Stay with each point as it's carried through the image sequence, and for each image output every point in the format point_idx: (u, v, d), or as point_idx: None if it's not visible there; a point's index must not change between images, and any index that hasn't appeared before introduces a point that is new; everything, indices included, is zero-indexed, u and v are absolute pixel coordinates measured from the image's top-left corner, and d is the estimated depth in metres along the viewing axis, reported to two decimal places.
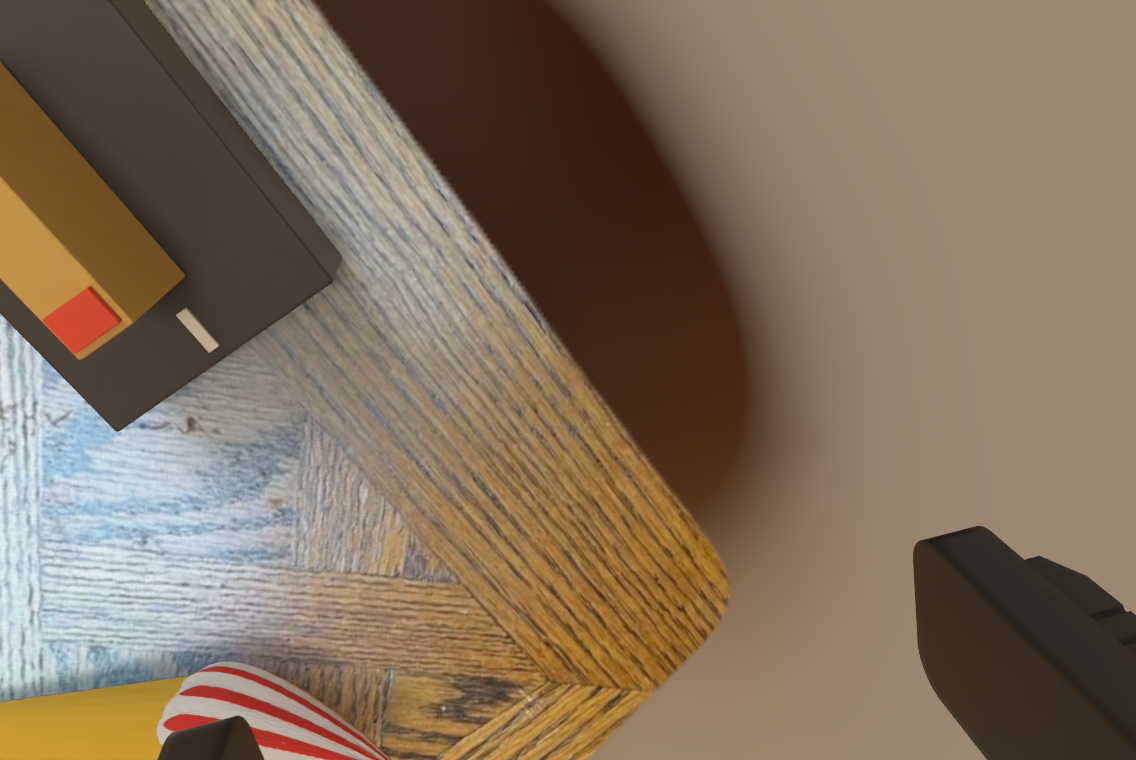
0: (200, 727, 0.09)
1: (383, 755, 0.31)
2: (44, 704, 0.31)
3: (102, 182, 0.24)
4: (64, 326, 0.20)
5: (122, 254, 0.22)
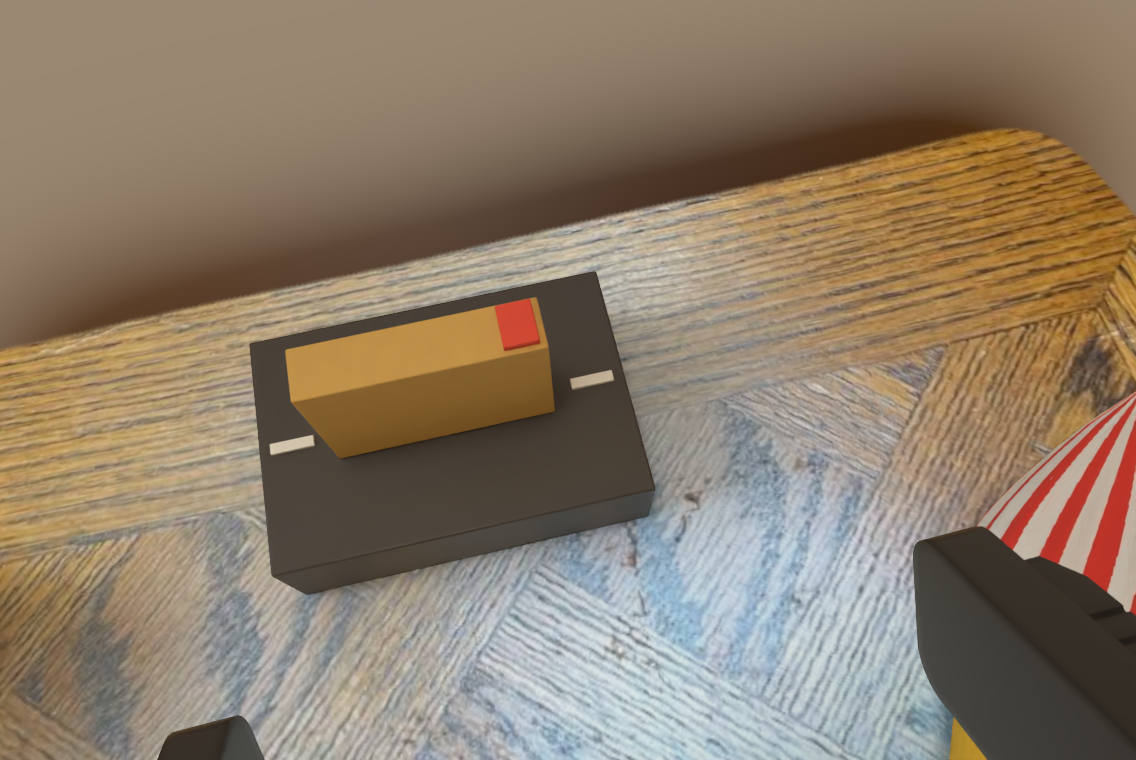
0: (200, 727, 0.09)
1: (1108, 410, 0.27)
2: None
3: None
4: (515, 334, 0.24)
5: None
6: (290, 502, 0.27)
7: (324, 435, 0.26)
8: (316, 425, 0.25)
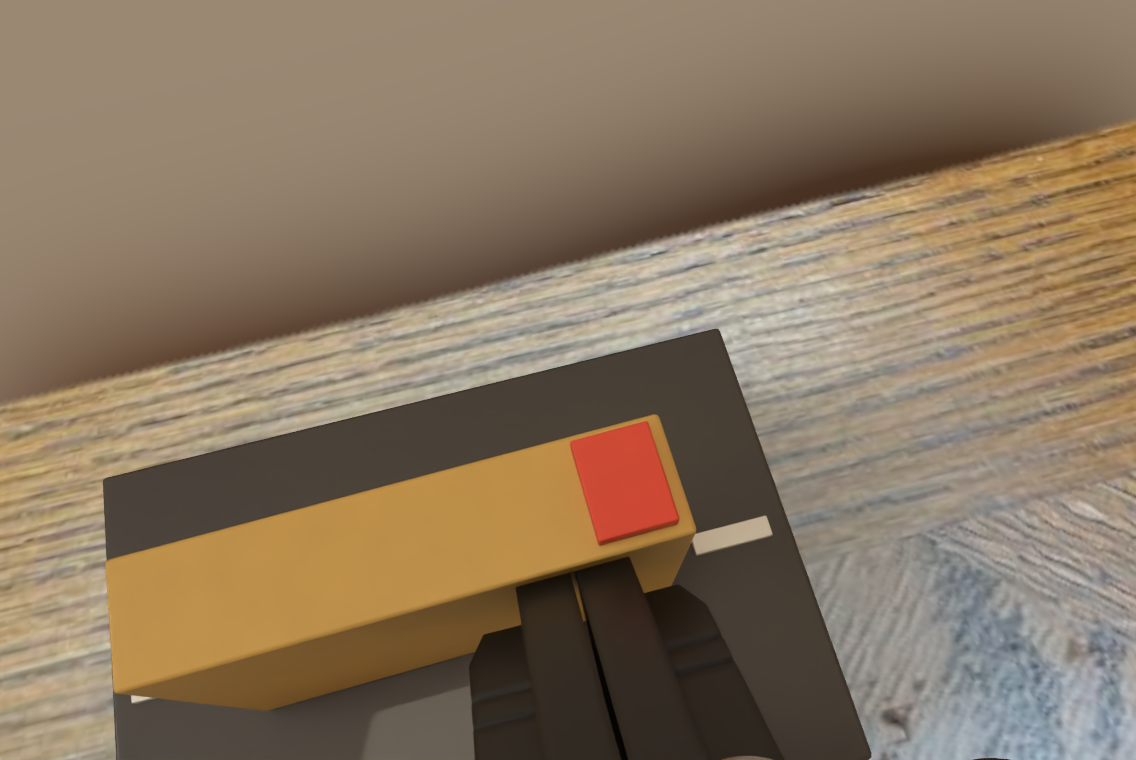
0: None
1: None
2: None
3: None
4: (623, 509, 0.10)
5: None
6: None
7: (219, 703, 0.13)
8: (194, 700, 0.12)
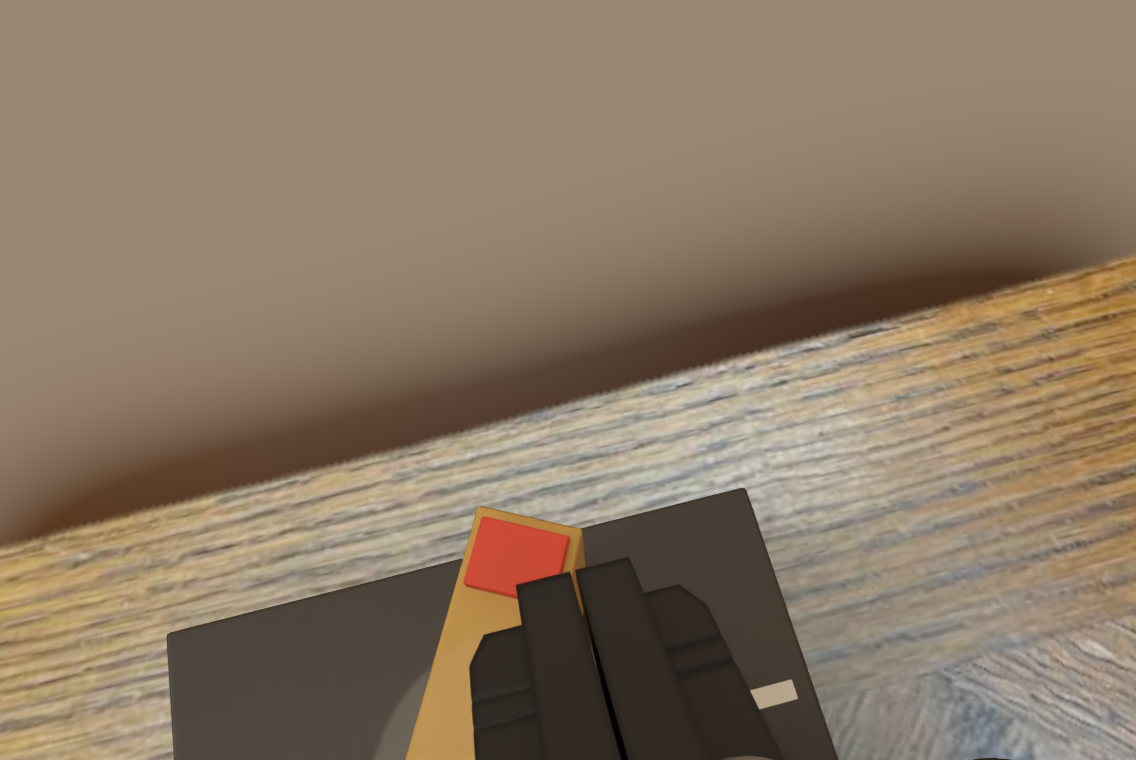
0: (543, 579, 0.11)
1: None
2: None
3: None
4: (539, 572, 0.12)
5: None
6: None
7: None
8: None
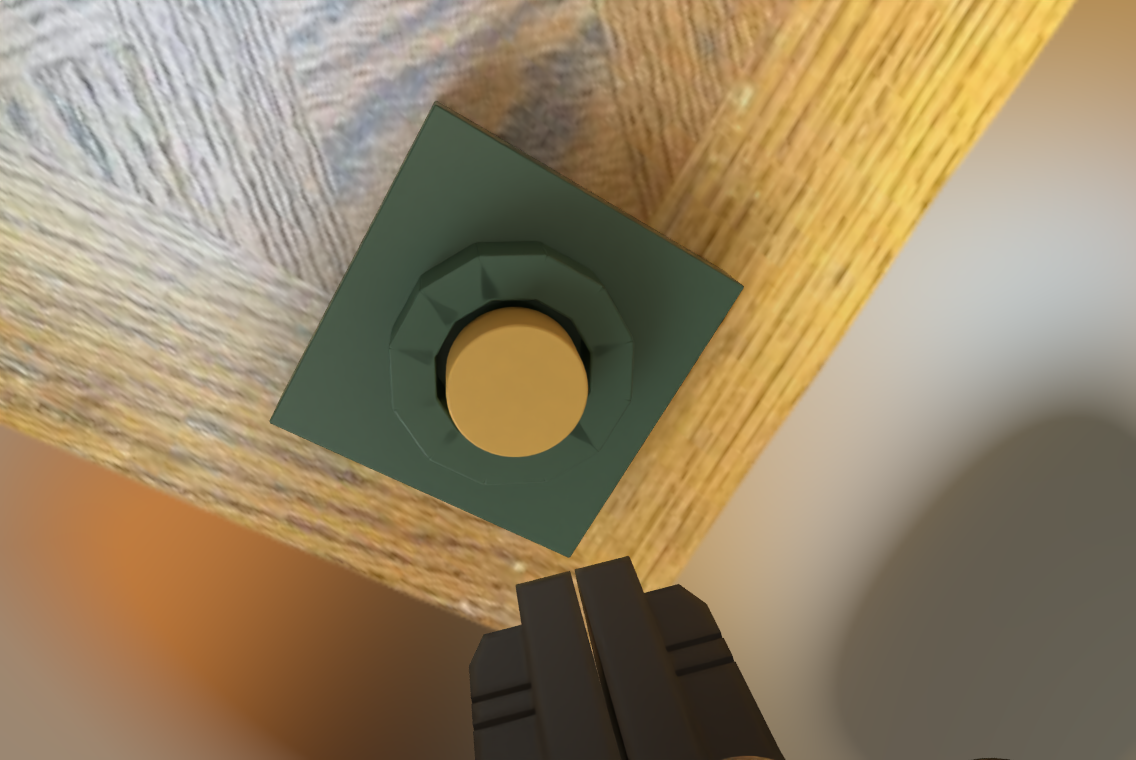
0: (543, 579, 0.11)
1: None
2: None
3: None
4: None
5: None
6: None
7: None
8: None
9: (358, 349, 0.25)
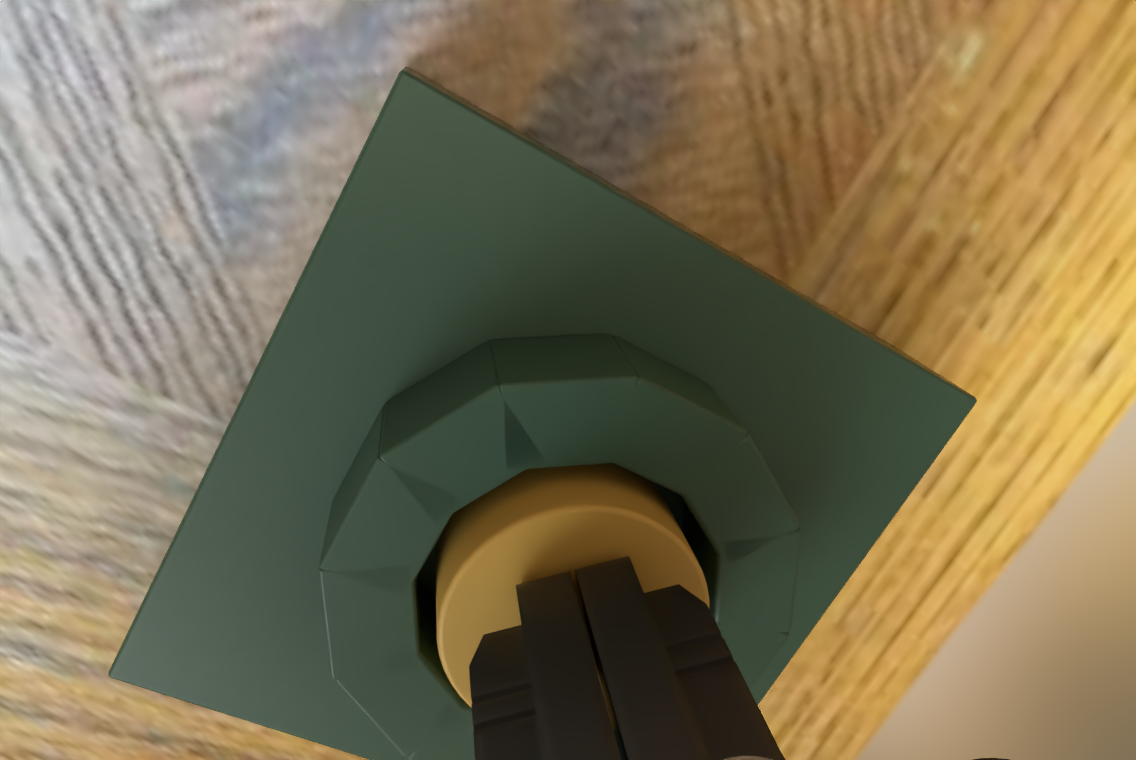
0: (543, 579, 0.11)
1: None
2: None
3: None
4: None
5: None
6: None
7: None
8: None
9: (270, 542, 0.13)
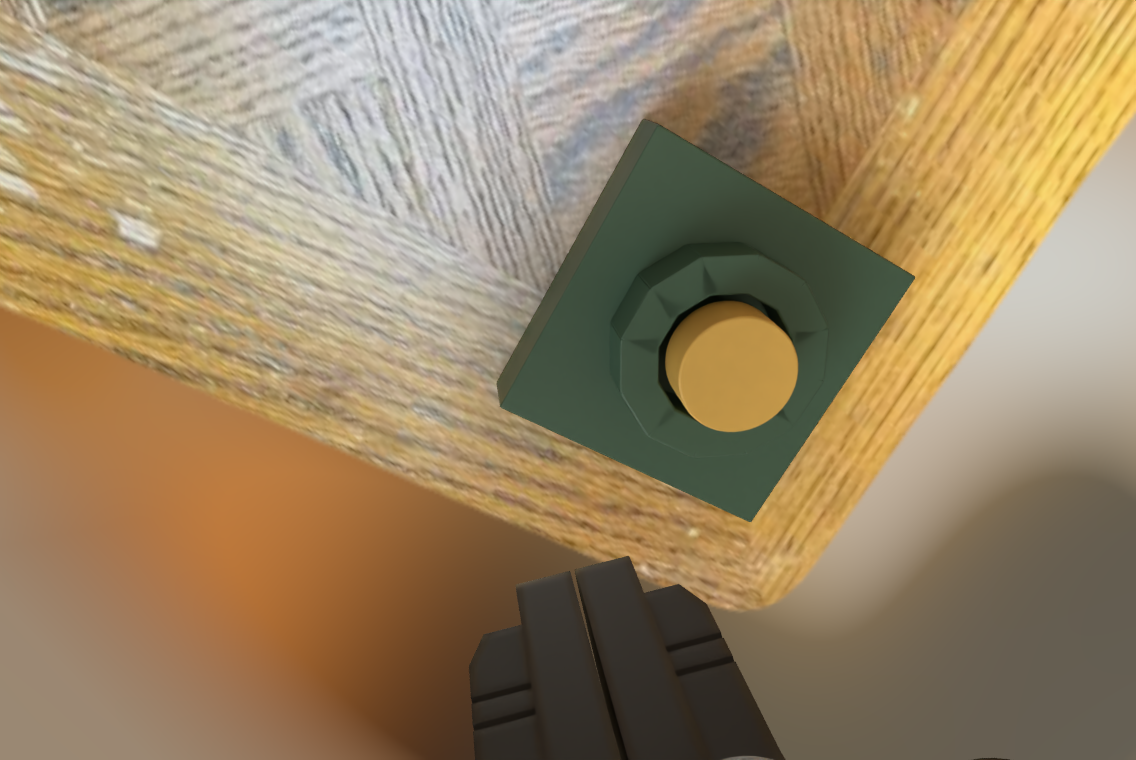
0: (543, 579, 0.11)
1: None
2: None
3: None
4: None
5: None
6: None
7: None
8: None
9: (580, 341, 0.28)
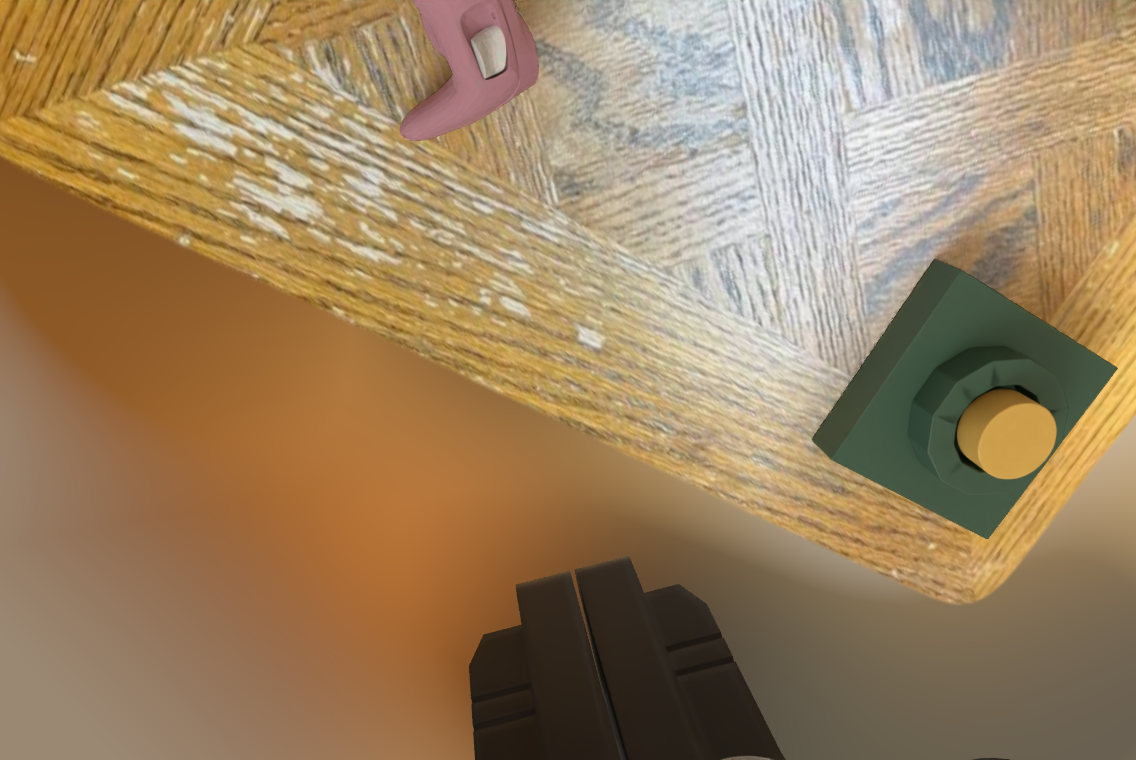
0: (543, 579, 0.11)
1: None
2: None
3: None
4: None
5: None
6: None
7: None
8: None
9: (891, 413, 0.40)
